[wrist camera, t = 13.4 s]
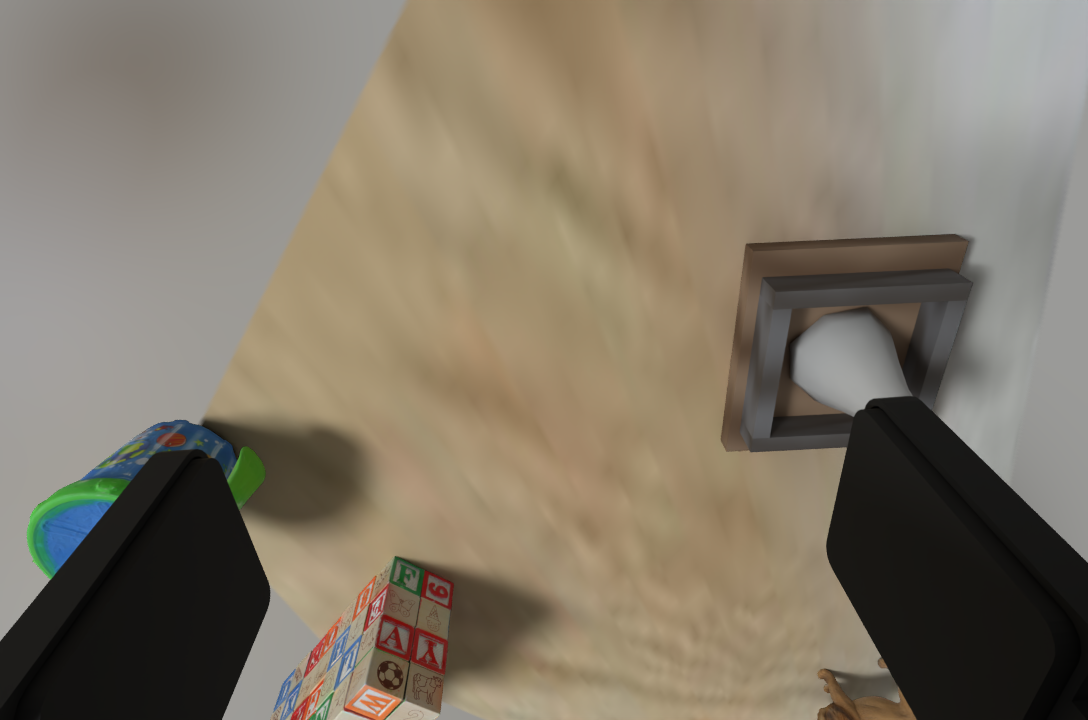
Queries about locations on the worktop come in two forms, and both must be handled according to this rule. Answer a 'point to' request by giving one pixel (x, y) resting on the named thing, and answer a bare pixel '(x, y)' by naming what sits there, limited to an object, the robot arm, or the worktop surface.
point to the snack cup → (88, 499)
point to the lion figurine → (861, 704)
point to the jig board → (825, 288)
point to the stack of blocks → (378, 654)
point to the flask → (847, 361)
